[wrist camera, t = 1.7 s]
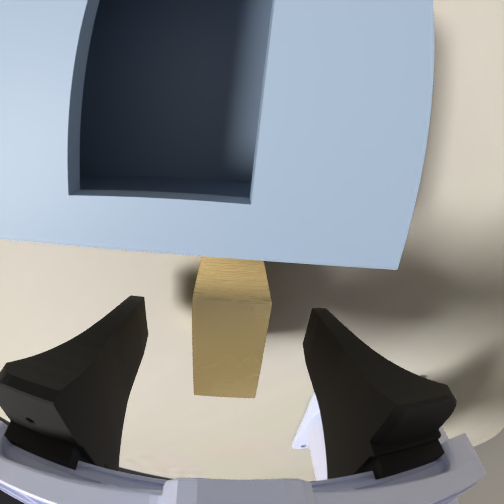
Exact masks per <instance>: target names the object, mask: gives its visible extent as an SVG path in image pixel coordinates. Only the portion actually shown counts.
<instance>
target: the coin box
mask: <svg viewBox="0 0 504 504" xmlns="http://www.w3.org/2000/svg"><path fill="white" fill-rule="evenodd" d="M433 77H434V12H433V0H0V239H4V240H15V241H26V242H37V243H48V244H59V245H71V246H82V247H94V248H106V249H118V250H130V251H142V252H155V253H167V254H180V255H193V256H206V257H219V258H232V259H246V260H259V261H273V262H287V263H301V264H316V265H330V266H345V267H360V268H375V269H391V270H397V269H398V266H399V262H400V259H401V256H402V252H403V249H404V246H405V242H406V238H407V235H408V231H409V227H410V223H411V219H412V215H413V211H414V207H415V203H416V198H417V194H418V189H419V184H420V179H421V174H422V169H423V163H424V157H425V151H426V145H427V138H428V131H429V123H430V114H431V104H432V92H433Z"/></svg>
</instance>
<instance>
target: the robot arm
mask: <svg viewBox="0 0 504 504" xmlns="http://www.w3.org/2000/svg"><path fill="white" fill-rule="evenodd" d="M147 337H148V329H147V320H146V311H145V301H144V297H140V296H130V297H128V298H127V299H126V300H124V301H123V302H122V303H121V304H120V305H118V306H117V307H116V308H115V309H114V310H112V311H111V312H110V313H109V314H107V315H106V316H105V317H104V318H102V319H101V320H100V321H98V322H97V323H95V324H94V325H93V326H91V327H90V328H89V329H87V330H86V331H84V332H83V333H81V334H79V335H78V336H76V337H74V338H73V339H71V340H69V341H67V342H65V343H63V344H61V345H59V346H57V347H55V348H53V349H51V350H48V351H46V352H43V353H40V354H38V355H35V356H32V357H28V358H25V359H21V360H17V361H13V362H8V363H6V364H5V366H4V367H3V369H2V370H1V372H0V406H1V408H2V409H3V411H4V412H5V413H6V415H7V416H8V417H9V419H10V420H11V422H10V424H9V426H7V425H6V424H4V423H3V422H2V421H0V490H2V491H4V492H5V493H7V494H9V495H11V496H12V497H14V498H16V499H18V500H19V501H21V502H23V503H25V504H459V501H458V499H457V497H458V496H460V495H461V494H463V493H464V492H466V491H467V490H468V489H470V488H471V487H473V486H474V485H475V484H477V483H478V482H479V481H480V480H482V479H483V478H484V477H485V476H486V472H485V470H484V468H483V466H482V464H481V462H480V460H479V458H478V456H477V454H476V452H475V450H474V448H473V446H472V445H471V443H470V441H469V439H468V437H467V435H466V434H461V435H459V436H456V437H454V438H451V439H448V437H447V435H446V433H445V431H444V429H443V427H442V425H443V424H444V422H445V421H446V420H447V419H448V418H449V416H450V415H451V414H452V412H453V411H454V409H455V407H456V399H455V397H454V396H453V394H452V392H451V391H450V389H449V388H448V386H447V385H444V384H441V383H438V382H435V381H431V380H428V379H426V378H423V377H421V376H418V375H416V374H414V373H411V372H409V371H407V370H405V369H403V368H401V367H399V366H398V365H396V364H394V363H392V362H391V361H389V360H387V359H386V358H384V357H383V356H381V355H380V354H378V353H377V352H375V351H374V350H373V349H371V348H370V347H369V346H367V345H366V344H365V343H364V342H362V341H361V340H360V339H359V338H358V337H356V336H355V335H354V334H353V333H352V332H351V331H350V330H348V329H347V328H346V327H345V326H344V325H343V324H342V323H341V322H340V321H339V320H338V319H337V318H336V317H334V316H333V315H332V314H331V313H330V312H329V311H328V310H327V309H325V308H312V311H311V315H310V319H309V323H308V326H307V330H306V334H305V337H304V341H303V348H304V355H305V361H306V365H307V369H308V372H309V375H310V379H311V382H312V385H313V388H314V392H315V393H314V394H313V396H312V398H311V401H310V403H309V405H308V408H307V410H306V413H305V415H304V417H303V420H302V422H301V424H300V427H299V429H298V431H297V433H296V436H295V438H294V440H293V442H292V448H294V449H302V448H309V449H310V454H311V459H312V463H313V468H314V473H315V478H316V481H311V482H307V481H304V480H301V479H264V480H225V479H205V478H177V479H172V480H169V481H168V480H161V479H154V478H149V477H143V476H138V475H133V474H128V473H123V472H119V471H118V468H119V454H120V445H121V437H122V430H123V423H124V417H125V412H126V407H127V402H128V398H129V395H130V391H131V389H132V386H133V383H134V380H135V377H136V374H137V372H138V369H139V366H140V363H141V360H142V357H143V355H144V351H145V347H146V342H147Z"/></svg>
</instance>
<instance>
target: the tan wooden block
mask: <svg viewBox="0 0 504 504" xmlns="http://www.w3.org/2000/svg"><path fill="white" fill-rule="evenodd" d="M271 307H272V300H271V295H270V290H269V285H268V280H267V275H266V271H265V266H264V261H259V260H246V259H232V258H219V257H206V256H202V258H201V262H200V266H199V270H198V275H197V279H196V283H195V288H194V292H193V297H192V346H193V381H194V395H203V396H217V397H236V398H255V395H256V390H257V385H258V380H259V374H260V369H261V364H262V358H263V353H264V347H265V342H266V336H267V330H268V325H269V319H270V313H271Z"/></svg>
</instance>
